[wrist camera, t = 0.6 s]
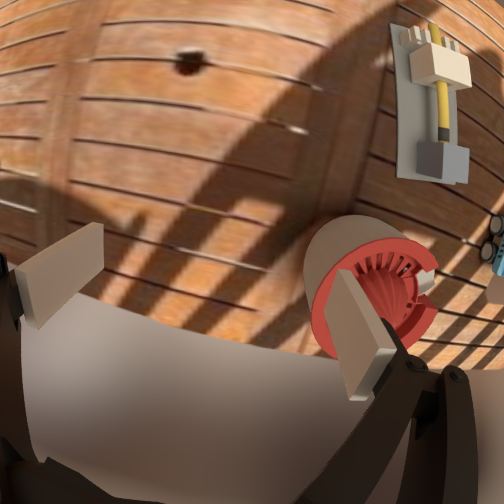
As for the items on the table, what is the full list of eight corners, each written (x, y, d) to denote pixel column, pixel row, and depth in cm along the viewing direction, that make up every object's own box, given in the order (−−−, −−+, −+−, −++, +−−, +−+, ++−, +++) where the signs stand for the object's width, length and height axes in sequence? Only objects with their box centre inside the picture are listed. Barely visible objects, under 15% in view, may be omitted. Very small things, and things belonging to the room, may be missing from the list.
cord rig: (388, 24, 29) (409, 6, 22) (447, 43, 29) (473, 32, 21) (395, 176, 38) (420, 184, 31) (453, 184, 38) (482, 193, 30)
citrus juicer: (401, 279, 44) (461, 349, 25) (307, 307, 46) (326, 397, 28) (391, 190, 39) (472, 225, 20) (283, 218, 41) (298, 277, 23)
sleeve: (409, 54, 30) (430, 42, 23) (443, 65, 30) (467, 57, 23) (411, 82, 32) (435, 73, 25) (446, 92, 31) (471, 87, 25)
